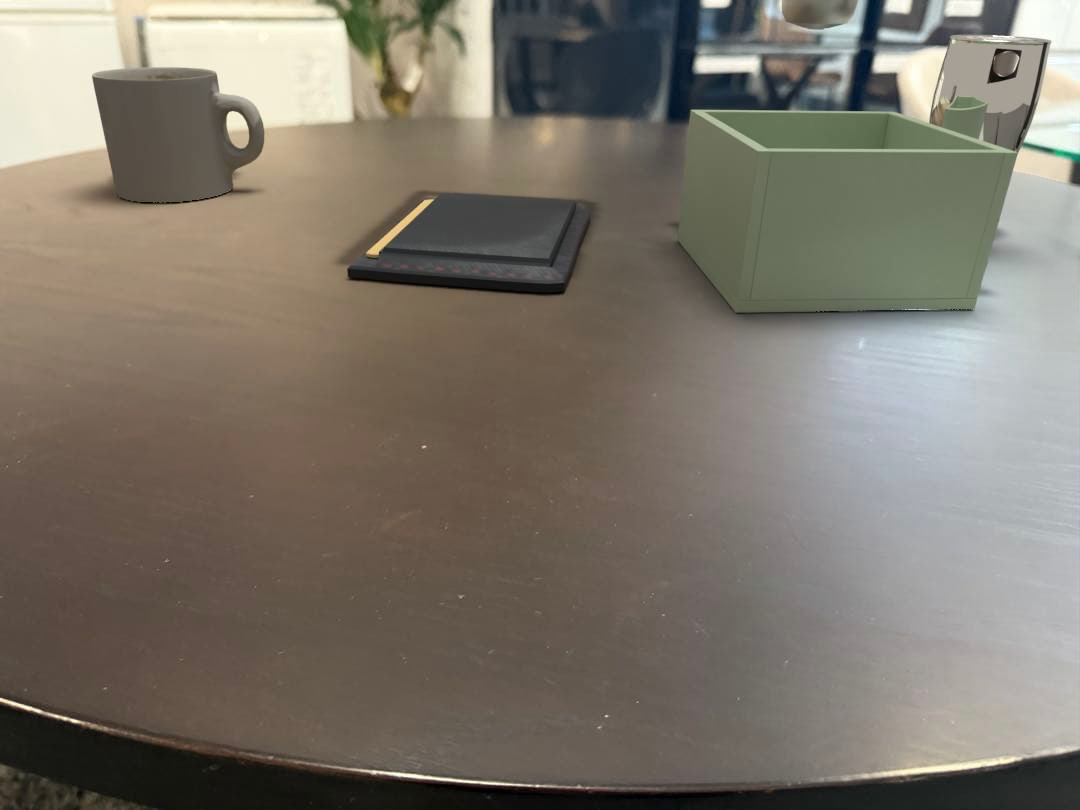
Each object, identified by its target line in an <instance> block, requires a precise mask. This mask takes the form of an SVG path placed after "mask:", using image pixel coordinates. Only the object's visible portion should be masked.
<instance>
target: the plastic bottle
mask: <svg viewBox="0 0 1080 810" xmlns="http://www.w3.org/2000/svg"><path fill="white" fill-rule="evenodd" d="M858 3H859V0H781V14H782V16H783V18H784V21H785V22H786V23H789V24H792V25H795V26H797V27H801V28H804V29H806V30H812V31H813V30H816V31H818V30H820V31H821V30H822V31H823V30H825V29H831V28H834V27H838V26H842V25H845V24H848V23H849V22H850V20H852V18H853V17H854V16H855V12H856V9H857V7H858Z"/></svg>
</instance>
